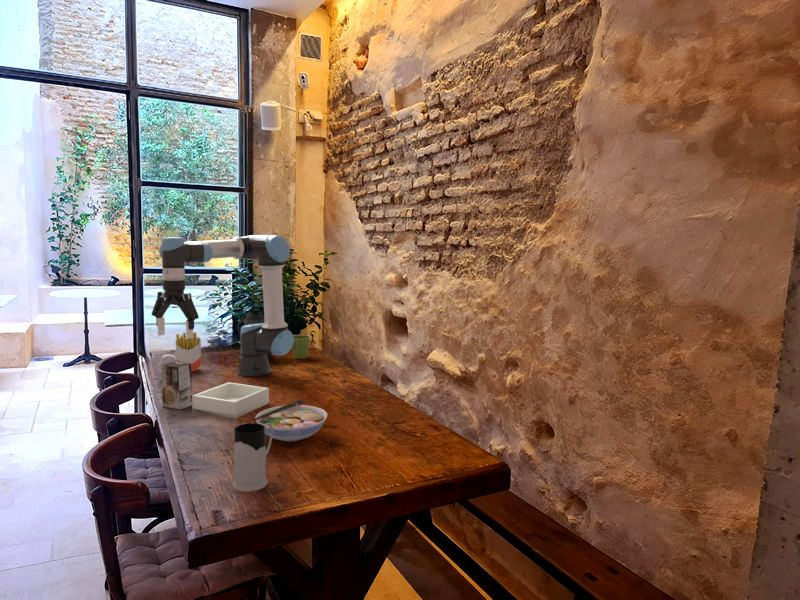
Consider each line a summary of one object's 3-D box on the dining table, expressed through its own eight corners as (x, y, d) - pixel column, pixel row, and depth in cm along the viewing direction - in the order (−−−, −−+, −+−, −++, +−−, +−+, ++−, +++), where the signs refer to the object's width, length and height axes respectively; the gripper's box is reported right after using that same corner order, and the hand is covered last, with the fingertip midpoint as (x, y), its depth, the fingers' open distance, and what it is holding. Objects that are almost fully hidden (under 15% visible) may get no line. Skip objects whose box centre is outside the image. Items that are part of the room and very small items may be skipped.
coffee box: (193, 405, 203) (192, 363, 201) (179, 409, 197) (178, 367, 195) (175, 401, 206) (174, 360, 205) (161, 406, 201) (160, 364, 199)
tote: (192, 411, 195) (192, 395, 194) (229, 396, 214) (228, 382, 213) (235, 418, 188) (234, 402, 188) (268, 403, 207) (268, 388, 206)
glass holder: (225, 487, 137) (224, 431, 135) (258, 466, 150) (258, 414, 148) (254, 494, 134) (253, 436, 132) (285, 471, 147) (285, 418, 145)
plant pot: (293, 354, 292) (293, 334, 291) (314, 355, 291) (314, 335, 290) (285, 359, 281) (285, 338, 280) (307, 360, 279) (307, 339, 278)
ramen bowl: (290, 459, 155) (290, 432, 154) (236, 442, 167) (236, 416, 166) (344, 433, 176) (344, 409, 175) (292, 420, 188) (292, 397, 187)
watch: (157, 378, 239) (156, 354, 238) (177, 376, 242) (176, 353, 241) (157, 381, 234) (156, 356, 233) (177, 379, 237) (176, 355, 236)
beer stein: (268, 362, 274) (267, 313, 271) (230, 361, 274) (229, 313, 271) (275, 355, 291) (275, 309, 288) (240, 354, 291) (239, 308, 288)
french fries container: (200, 371, 253) (199, 333, 251) (175, 372, 251) (174, 334, 248) (201, 368, 258) (200, 332, 256) (177, 369, 255) (176, 332, 253)
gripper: (140, 278, 197) (141, 335, 200) (193, 281, 188) (194, 341, 190) (156, 277, 204) (157, 332, 207) (208, 280, 195) (209, 337, 197)
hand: (175, 336), depth 199 cm, fingers open, 13 cm apart
